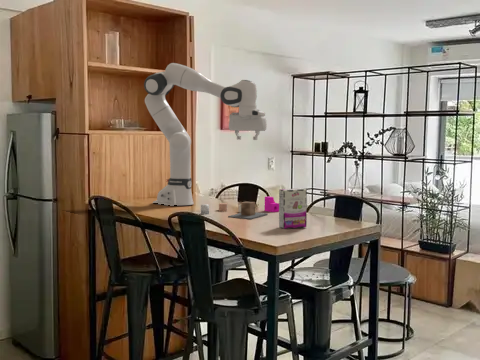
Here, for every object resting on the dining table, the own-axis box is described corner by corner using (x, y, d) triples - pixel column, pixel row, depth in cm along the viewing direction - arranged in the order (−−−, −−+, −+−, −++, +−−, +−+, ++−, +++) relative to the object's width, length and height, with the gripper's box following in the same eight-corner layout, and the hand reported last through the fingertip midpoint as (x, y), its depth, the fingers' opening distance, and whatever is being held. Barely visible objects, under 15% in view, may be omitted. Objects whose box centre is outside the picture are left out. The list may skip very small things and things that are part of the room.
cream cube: (238, 212, 274) (238, 204, 274) (243, 211, 277) (244, 204, 276) (244, 213, 271) (244, 205, 271) (249, 212, 274) (249, 204, 274)
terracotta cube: (218, 211, 275) (219, 204, 275) (219, 210, 279) (219, 203, 279) (226, 212, 275) (226, 204, 275) (227, 210, 279) (227, 203, 279)
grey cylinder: (199, 215, 263) (199, 205, 263) (203, 214, 266) (203, 204, 266) (206, 215, 261) (206, 205, 261) (210, 214, 265) (210, 204, 264)
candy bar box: (300, 225, 236) (301, 188, 235) (306, 227, 231) (307, 189, 230) (277, 227, 232) (278, 188, 230) (283, 229, 227) (284, 190, 226)
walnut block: (241, 215, 259) (241, 202, 259) (245, 213, 264) (246, 201, 263) (250, 215, 257) (250, 203, 257) (255, 214, 262) (255, 202, 261)
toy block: (272, 212, 276) (272, 197, 275) (264, 211, 281) (264, 196, 280) (294, 210, 285) (294, 196, 284) (285, 208, 290) (286, 194, 289)
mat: (228, 217, 255) (228, 216, 255) (245, 213, 271) (245, 211, 271) (250, 220, 250) (250, 218, 250) (267, 215, 266) (267, 213, 266)
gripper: (226, 112, 277) (226, 139, 279) (262, 112, 268) (261, 140, 269) (232, 112, 283) (232, 139, 284) (268, 112, 273) (267, 140, 274)
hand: (246, 139), depth 276 cm, fingers open, 8 cm apart
